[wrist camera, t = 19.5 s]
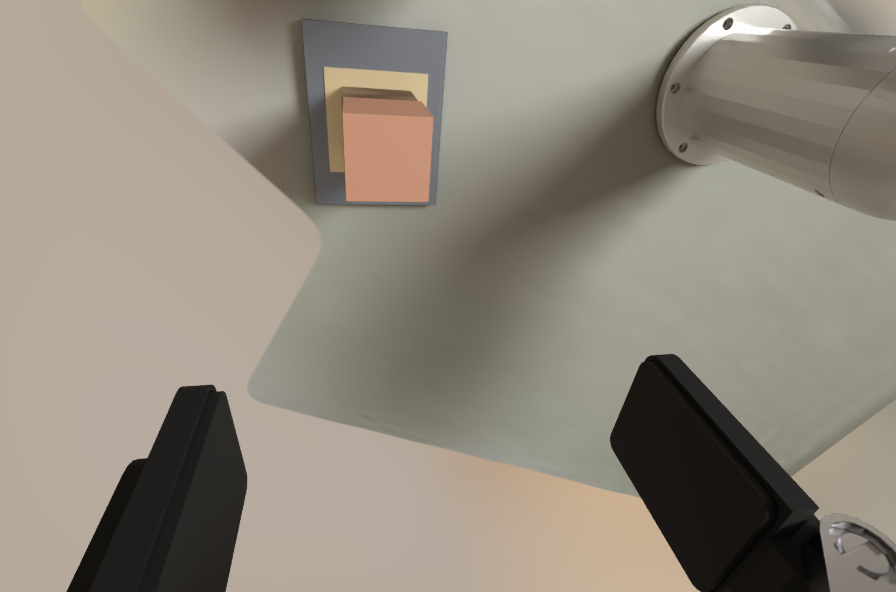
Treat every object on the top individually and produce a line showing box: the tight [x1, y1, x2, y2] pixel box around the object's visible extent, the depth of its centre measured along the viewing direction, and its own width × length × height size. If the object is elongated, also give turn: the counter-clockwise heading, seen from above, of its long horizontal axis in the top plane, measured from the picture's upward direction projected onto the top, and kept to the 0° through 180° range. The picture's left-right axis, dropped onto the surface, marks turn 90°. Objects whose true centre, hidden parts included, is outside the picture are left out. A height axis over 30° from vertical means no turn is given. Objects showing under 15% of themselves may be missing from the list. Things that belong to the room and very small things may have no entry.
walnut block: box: [341, 86, 418, 172], centre depth 32 cm, size 5×5×5 cm
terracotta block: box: [342, 97, 434, 202], centre depth 28 cm, size 5×5×5 cm
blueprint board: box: [302, 19, 448, 205], centre depth 34 cm, size 10×13×1 cm
